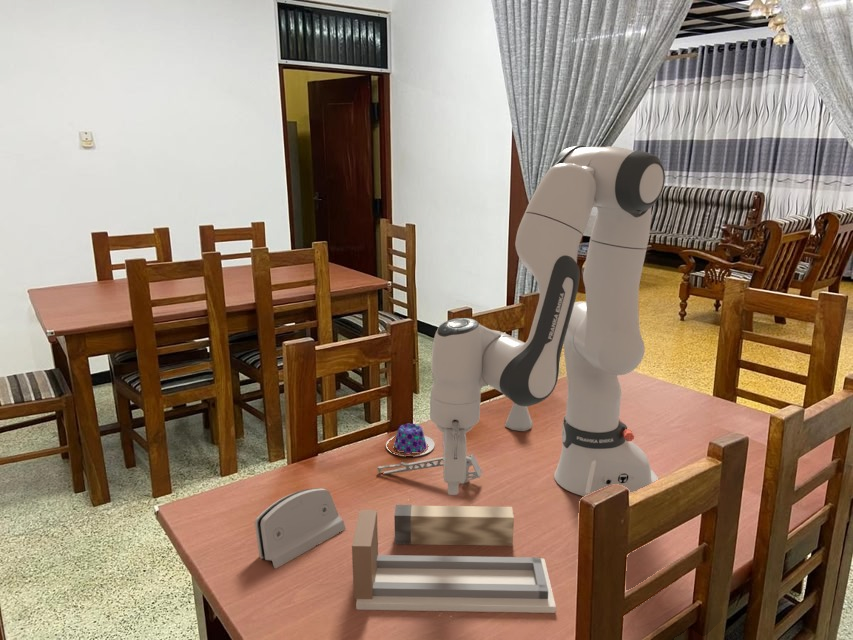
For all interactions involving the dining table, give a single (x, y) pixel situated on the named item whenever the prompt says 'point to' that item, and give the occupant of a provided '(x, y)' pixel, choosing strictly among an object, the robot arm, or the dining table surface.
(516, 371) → the robot arm
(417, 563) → the slot board
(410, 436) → the pudding
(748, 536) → the dining table surface
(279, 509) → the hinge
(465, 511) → the wooden block
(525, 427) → the flask
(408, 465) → the bracket
